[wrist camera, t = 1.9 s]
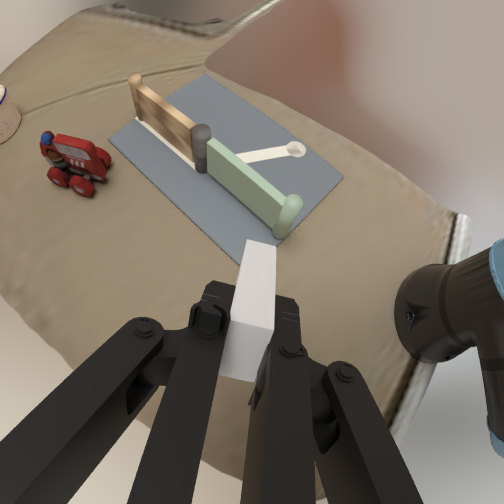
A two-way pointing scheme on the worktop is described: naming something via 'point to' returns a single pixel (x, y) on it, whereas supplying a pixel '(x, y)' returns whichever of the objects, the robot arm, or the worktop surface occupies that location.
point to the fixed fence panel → (171, 123)
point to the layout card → (242, 145)
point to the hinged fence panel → (252, 189)
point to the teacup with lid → (7, 116)
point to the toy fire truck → (74, 161)
